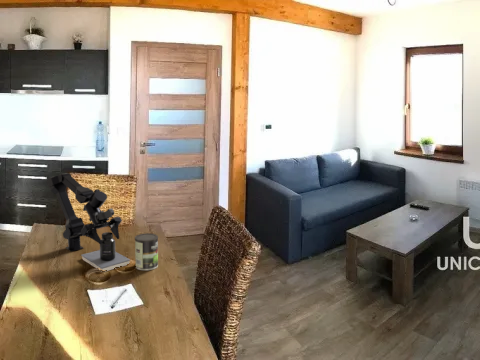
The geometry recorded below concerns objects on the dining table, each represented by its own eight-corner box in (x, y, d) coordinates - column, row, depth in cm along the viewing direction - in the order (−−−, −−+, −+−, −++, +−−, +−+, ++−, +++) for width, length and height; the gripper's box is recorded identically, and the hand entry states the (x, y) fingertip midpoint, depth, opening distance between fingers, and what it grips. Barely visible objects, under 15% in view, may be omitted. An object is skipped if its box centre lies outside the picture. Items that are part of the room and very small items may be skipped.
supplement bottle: (106, 262, 189) (104, 237, 186) (97, 258, 193) (95, 234, 190) (118, 258, 194) (117, 233, 192) (109, 254, 198) (108, 230, 196)
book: (81, 260, 197) (81, 254, 197) (108, 253, 207) (108, 247, 207) (102, 274, 184) (102, 267, 183) (130, 265, 194) (130, 259, 193)
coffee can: (161, 263, 196) (161, 234, 193) (152, 271, 186) (152, 241, 183) (141, 260, 198) (140, 232, 195) (131, 269, 188) (130, 239, 185)
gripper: (83, 207, 183) (99, 237, 179) (119, 199, 197) (134, 227, 193) (74, 221, 189) (89, 250, 185) (109, 212, 204) (124, 239, 199)
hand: (110, 241), depth 190 cm, fingers open, 9 cm apart
